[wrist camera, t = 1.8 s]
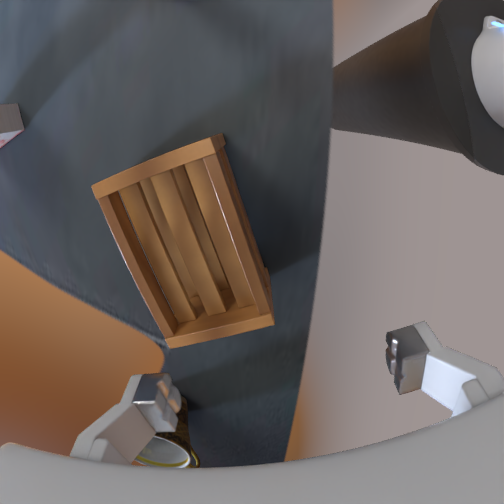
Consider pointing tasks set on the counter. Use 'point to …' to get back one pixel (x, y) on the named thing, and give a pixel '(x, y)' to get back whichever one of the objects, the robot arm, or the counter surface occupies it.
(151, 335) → the counter surface
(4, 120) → the tea box
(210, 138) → the slatted rack
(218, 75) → the counter surface
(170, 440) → the ceramic cup
